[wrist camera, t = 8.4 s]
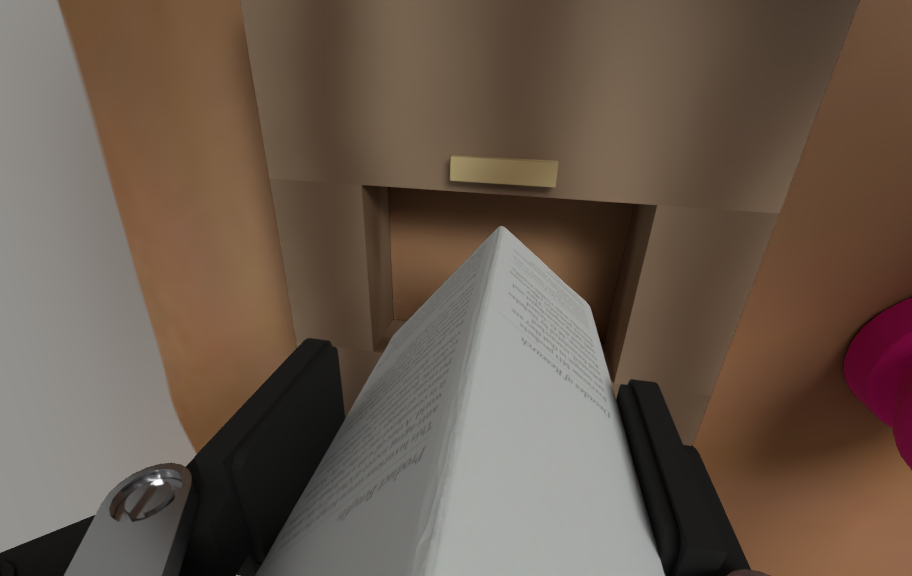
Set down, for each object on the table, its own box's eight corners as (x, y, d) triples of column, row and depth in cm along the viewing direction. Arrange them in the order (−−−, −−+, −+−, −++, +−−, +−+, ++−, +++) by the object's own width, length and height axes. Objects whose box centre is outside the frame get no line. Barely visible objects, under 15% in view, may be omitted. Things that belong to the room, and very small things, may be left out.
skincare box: (477, 400, 16) (361, 993, 6) (392, 332, 16) (76, 856, 5) (599, 303, 14) (823, 1068, 3) (504, 216, 13) (349, 797, 2)
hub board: (338, 412, 25) (310, 457, 22) (283, -25, 16) (223, -52, 13) (652, 461, 22) (669, 519, 19) (811, -30, 13) (894, -65, 10)
